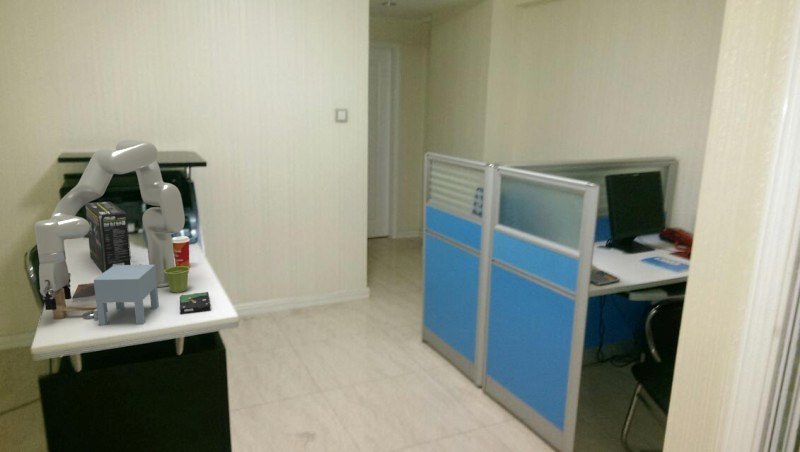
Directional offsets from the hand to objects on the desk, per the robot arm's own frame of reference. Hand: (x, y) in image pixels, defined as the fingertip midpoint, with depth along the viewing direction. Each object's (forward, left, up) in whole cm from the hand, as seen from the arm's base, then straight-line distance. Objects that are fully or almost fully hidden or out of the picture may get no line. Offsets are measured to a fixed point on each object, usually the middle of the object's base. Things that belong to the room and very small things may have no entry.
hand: (59, 304), depth 179 cm
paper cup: (-55, +25, -5) cm, 60 cm away
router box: (-61, -9, -5) cm, 62 cm away
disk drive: (-8, +43, -5) cm, 44 cm away
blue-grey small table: (0, +23, -5) cm, 23 cm away
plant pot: (-25, +32, -5) cm, 41 cm away
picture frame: (-25, +5, -6) cm, 26 cm away
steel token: (0, +10, -5) cm, 11 cm away
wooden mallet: (0, +6, -5) cm, 8 cm away
